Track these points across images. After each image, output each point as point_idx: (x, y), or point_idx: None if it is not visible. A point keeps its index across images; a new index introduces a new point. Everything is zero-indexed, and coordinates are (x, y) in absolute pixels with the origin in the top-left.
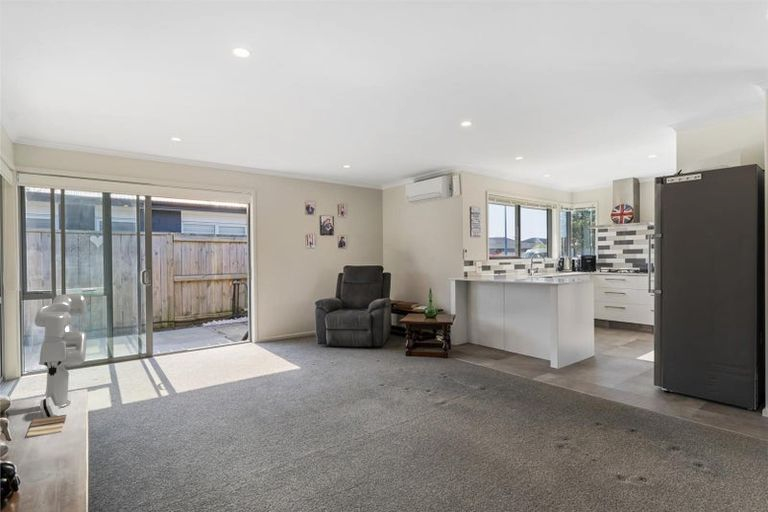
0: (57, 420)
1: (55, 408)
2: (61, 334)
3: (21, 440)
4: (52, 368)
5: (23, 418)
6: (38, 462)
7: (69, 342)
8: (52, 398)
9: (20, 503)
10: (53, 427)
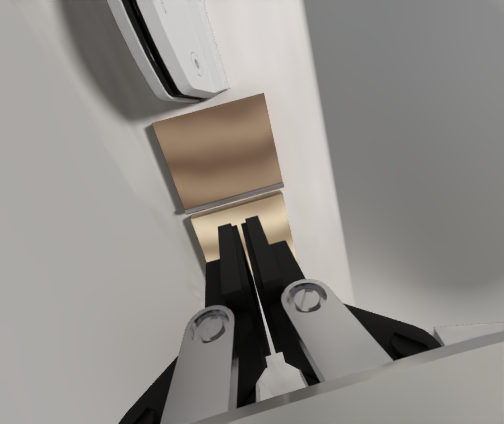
0: (254, 164)
1: None
2: None
3: (204, 280)
4: (258, 311)
5: (73, 41)
6: (296, 386)
7: None
8: None
9: None
10: (265, 232)
